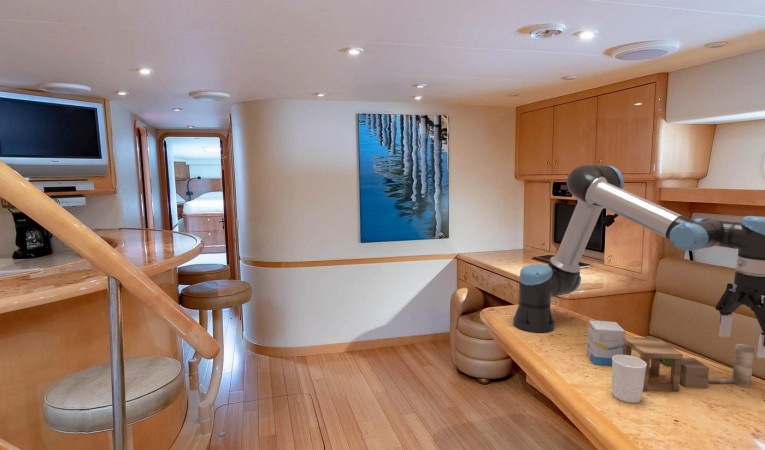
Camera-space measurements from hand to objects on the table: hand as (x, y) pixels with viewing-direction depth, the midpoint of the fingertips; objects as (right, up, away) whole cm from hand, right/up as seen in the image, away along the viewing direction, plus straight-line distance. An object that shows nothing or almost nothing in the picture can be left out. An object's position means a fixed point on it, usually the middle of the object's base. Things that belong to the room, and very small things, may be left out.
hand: (742, 346), depth 119 cm
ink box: (-31, -9, +16) cm, 36 cm away
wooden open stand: (-25, -11, +2) cm, 27 cm away
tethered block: (-7, -11, +1) cm, 13 cm away
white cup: (-36, -12, -6) cm, 38 cm away
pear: (-12, -9, +16) cm, 22 cm away
